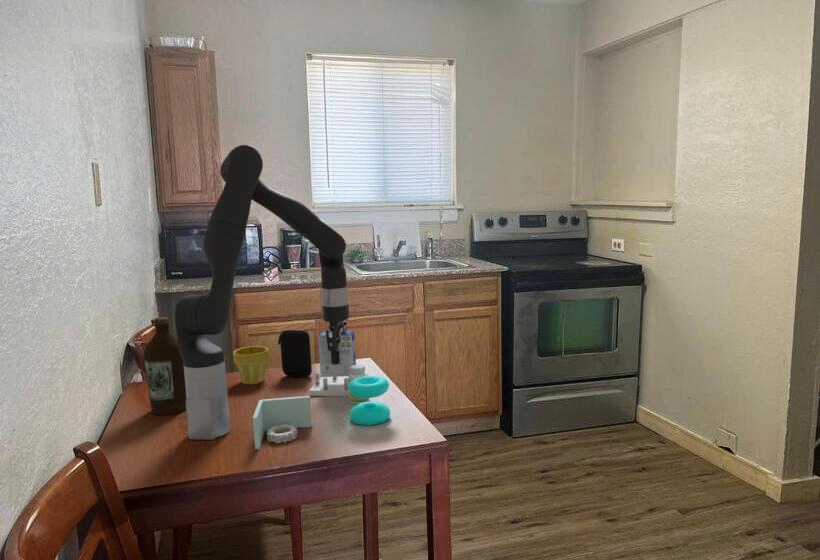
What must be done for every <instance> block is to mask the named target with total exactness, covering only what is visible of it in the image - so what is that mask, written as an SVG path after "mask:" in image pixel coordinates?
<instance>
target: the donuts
mask: <svg viewBox="0 0 820 560" xmlns="http://www.w3.org/2000/svg"><path fill="white" fill-rule="evenodd" d="M389 384H390V383H389V381H388V380H387V378H385V377H383V376H378V375H368V376H362V377H358V378H355V379H353V380H352V381H351V382H350V383H349V385H348V390H349V392H350V393H351V394H352V395H354V396H356V397H360V398H369V399H373V398H378V397H380V396H382V395H384V394H385V393H386V392H387V391H388V390H389V388H390V385H389ZM390 416H391V410H390V408H389V406H388V405H387V404H385V403H383V402H379V401H368V402H363V403H360V404H355V405H354V406H353V407H352V408H351V410H350V411H349V417H350V420H351V421H352V422H353V423H355V424H358V425H362V426H374V425H378V424H383V423H384V422H386V421H387V420H388V419H389V418H390Z"/></svg>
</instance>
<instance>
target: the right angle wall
mask: <svg viewBox="0 0 820 560" xmlns="http://www.w3.org/2000/svg"><path fill="white" fill-rule="evenodd" d="M252 425H253V438H254V440H253V441H254V450H255V449H258V450H260V449H261V444H262V442H263V439H262V438H264V436H263V435H265V432H266V435H267V437H266V441H268V442H269V443H272V442H275V444H277V443H280V442H284V443H283V444H286V443H288V442H287V441H290V442H291V441H295V440H294V439H296V438H295V437H297V438H298V428H297V427H302V428H311V427H310V426H312V427H313V419H312V403H311V396H309V395H305V396H292V397H290V396H289V397H279V398H277V397H275V398H266V399H265V398H264V399H259V400H258V402H257V405H256V408H255V411H254V414H253V416H252ZM296 434H297V435H296ZM292 439H293V440H292ZM270 441H271V442H270ZM285 442H286V443H285ZM280 444H281V443H280ZM259 448H260V449H259Z"/></svg>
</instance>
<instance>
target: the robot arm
mask: <svg viewBox="0 0 820 560" xmlns="http://www.w3.org/2000/svg"><path fill="white" fill-rule="evenodd" d="M263 164H264V162H263V158H262V155H261V153H260V152H259V151H258V149H257V148H256V147H254V146H252V145H250V144H239V145H238V146H236V147H234V148H233V149H231V150H230V151H229V153H227V156H226V157H225V158H224V159H223V161H222V163H221V165H220V167H219V168H220V169H219V172H220V173H219V174H220V177H221V178H222V180H223V181H224V182H225V183H224V186H223V189H222V192H221V194H220V196H219V198H218V199H217V201H216V203H215V206H214V207H213V209H212V212H211V215H210V216H209V219H208V222H207V226H206V229H205V232H204V235H203V239H202V248H203V252H204V255H205V258H206V260H207V263H208V266H209V268H210V271H211V275H212V277H211V285H210V290H209V293H208V294H205V295H204V294H202V295H201V294H199V295H197V294H196V295H195V294H193V295H184V296H182V297H180V298H179V299H178V301H177V303H176V305H175V308H174V324H175V331H176V337H177V339H178V346H179V352H180V355H181V357H182V359H183V365H184V375H185V387H186V397H187V400H186V410H185V411H186V421H187V431H188V439H189V440H207V441H208V440H212V441H213V440H215V439H217V438H220V437H222V436H224V435H227V434H228V433H229V432H230V431H231V423H230V419H231V418H230V409H229V398H228V397H229V396H228V385H227V374H226V361H225V351H224V349H223V348H222V347H220V346H218V345H217V344H214V343H212V342H211V341H209V340H208V339H207V337H205V336H215V335H220V334H221V333H222V332H223V331H224V330H225V328H226V327H227V323H228V320H229V315H230V310H231V304H232V297H233V296H232V295H233V290H234V289H233V288H234V281H235V276H236V271H237V267H238V264H239V259H240V256H241V251H242V248H243V245H244V240H245V236H246V232H247V231H246V230H247V227H248V222H249V217H250V211H251V205H252V201H253V202H255V203H257V204H258V205H260V206H261V207H263V208H264V209H266V210H268V211H269V212H270V213H272V214H273V215H275V216H276V217H278V218H279V219H280V220H281V221H282V222H284V223H285V224H286V225H288V226H289V227H290V228H291V229H292V230H294V232H296V233H297V234H298V235H300V236H301V237H302V238H303V239H304V238H305V239H306V240H307V241H308V242H309V243H311V244H312V245H313V246H314V247H315V248H316V249H317V250H318V257H319V263H320V269H321V271H320V272H321V274H320V275H321V276H320V278H321V281H320V282H321V311H322V320H323V321H324V322H329V327H328V328H327V329H328V330H326V331H325V332H326V337H327V346H328V351H330V352H331V362H332V364H333V365H338V364H339V363H340V357H339V344H340V343H341V334H342V333H343V332H345V331H348V329H347V326H348V325H347V321H348V319H350V303H349V293H348V292H349V291H348V287H347V286H348V284H347V272H346V271H347V270H346V268H345V265H344V254H345V252H346V250H347V243H346V240H345V239H344V237H343V236H342V235H341V234H340V233H339V232H338V231H336V230H335V229H333V228H332V227H331V226H329V225H328V224H327V223H325V222H324V221H322V219H320V218H319V217H318V216H317V215H316V213H315V212H313V211H312V210H311V209H310V208H309V207H307V206H306V205H305V204H304V203H303V202H301V201H300V200H298V199H296V198H295V197H292V196H289V195H287V194H284V193H281V192H279V191H277V190H275V189H273V188H272V187H270V186H268V185H267V184H266V183H265V182H264V181H262V179H260V176H261V174H262V171H263V168H264V167H263V166H264V165H263ZM342 324H343V325H342ZM338 336H339V339H338V340H337V339H336V338H338ZM333 343H334V347H333Z"/></svg>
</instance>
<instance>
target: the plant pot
mask: <svg viewBox="0 0 820 560" xmlns="http://www.w3.org/2000/svg"><path fill="white" fill-rule="evenodd" d="M232 355H233V357H232V358H233V364H235V365H236V367H237V371H238V373H239V377H240V381H241V383H242V384H244V385H256V384H260V383H262V382H263V381H264V380H265V373H266V367H267V362H268V361H269V359H270V358H269V348H268V347H266V346H262V345H261V346H260V345H255V346H253V345H252V346H245V347H244V346H243V347H240V348H237V349H235V350H234V351H233V353H232Z"/></svg>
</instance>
